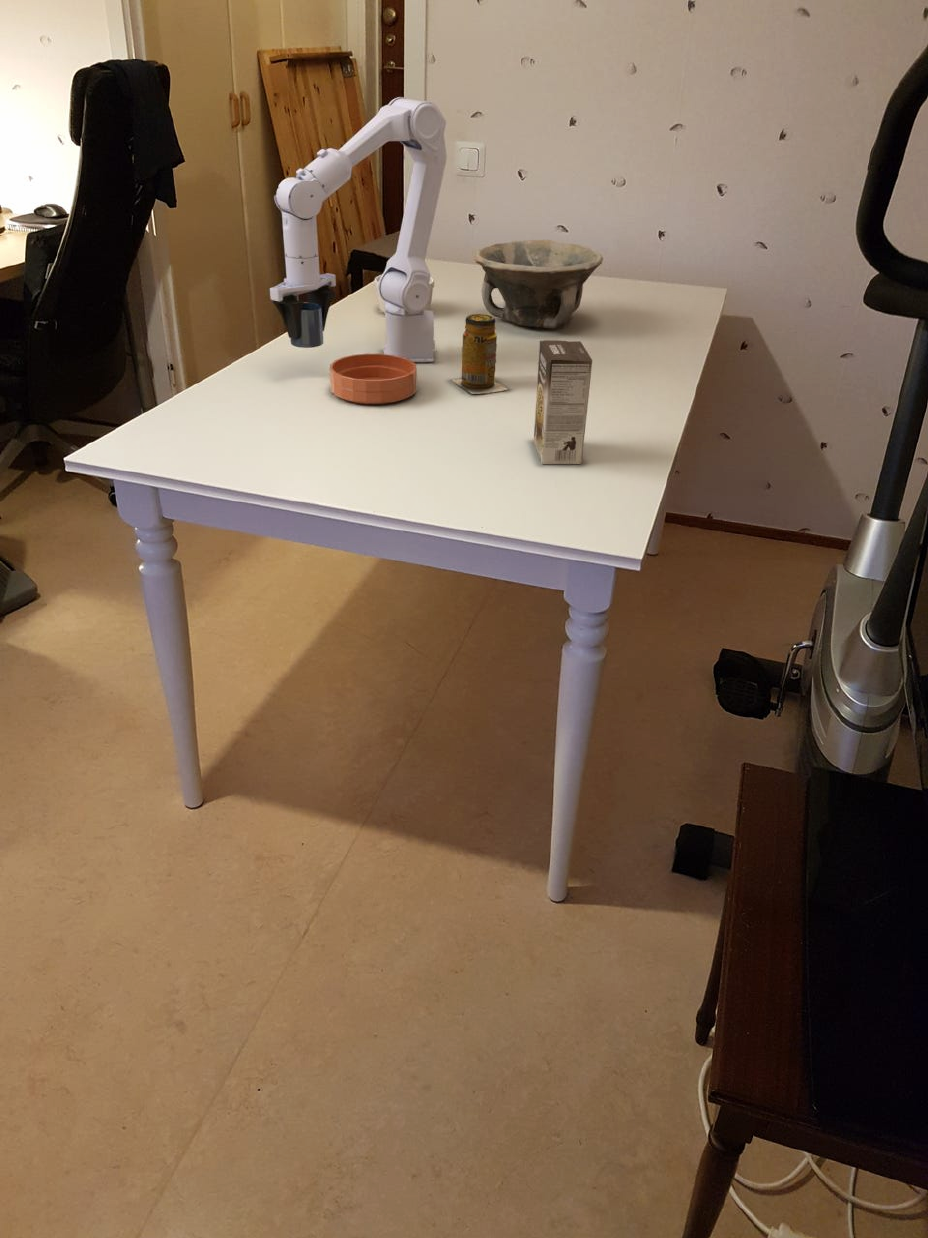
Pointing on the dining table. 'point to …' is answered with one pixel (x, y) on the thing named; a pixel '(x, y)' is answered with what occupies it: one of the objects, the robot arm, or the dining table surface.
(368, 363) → the clay bowl
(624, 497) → the dining table surface
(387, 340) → the robot arm
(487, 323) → the condiment
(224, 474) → the dining table surface
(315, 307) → the cup
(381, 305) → the ramekin
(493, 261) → the bowl
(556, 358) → the coffee box
